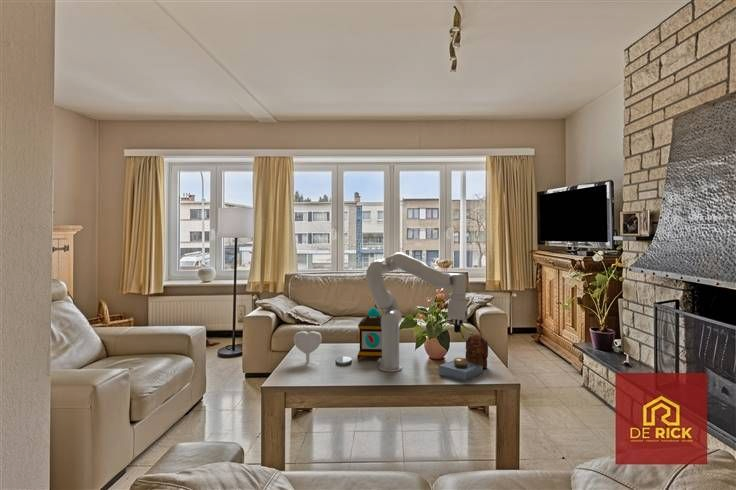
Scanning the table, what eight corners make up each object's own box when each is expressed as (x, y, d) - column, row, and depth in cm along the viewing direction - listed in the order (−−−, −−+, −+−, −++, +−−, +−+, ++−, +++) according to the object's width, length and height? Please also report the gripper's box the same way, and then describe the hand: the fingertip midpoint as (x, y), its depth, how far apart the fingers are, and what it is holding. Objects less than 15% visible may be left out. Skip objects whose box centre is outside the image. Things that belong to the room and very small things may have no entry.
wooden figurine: (465, 368, 229) (465, 335, 229) (465, 365, 235) (465, 333, 235) (488, 370, 227) (488, 336, 227) (487, 366, 233) (487, 334, 233)
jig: (439, 374, 219) (439, 365, 219) (456, 368, 230) (456, 359, 230) (465, 382, 207) (465, 372, 207) (482, 375, 218) (482, 365, 218)
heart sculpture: (293, 364, 238) (293, 332, 238) (295, 361, 243) (295, 330, 243) (320, 364, 237) (320, 332, 237) (322, 362, 242) (322, 330, 242)
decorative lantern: (391, 353, 261) (391, 305, 260) (389, 362, 241) (389, 310, 241) (359, 352, 263) (358, 304, 262) (354, 361, 243) (354, 309, 243)
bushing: (458, 371, 223) (458, 357, 223) (470, 374, 219) (470, 359, 219) (451, 374, 219) (451, 359, 219) (462, 377, 214) (462, 362, 214)
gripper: (442, 296, 224) (441, 330, 224) (466, 299, 213) (465, 335, 213) (450, 294, 229) (449, 328, 229) (474, 298, 218) (473, 333, 218)
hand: (457, 331), depth 221 cm, fingers closed
